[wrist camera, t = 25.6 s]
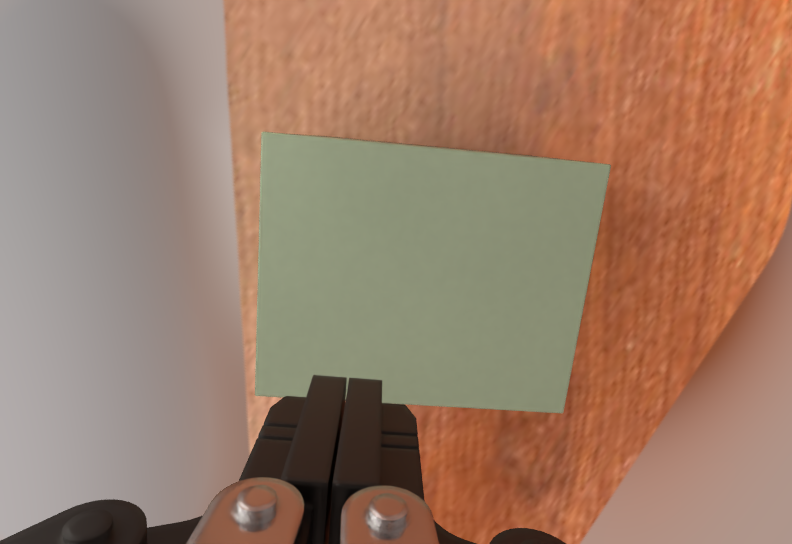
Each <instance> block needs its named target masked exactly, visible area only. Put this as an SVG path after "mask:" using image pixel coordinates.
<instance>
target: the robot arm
mask: <svg viewBox="0 0 792 544" xmlns="http://www.w3.org/2000/svg"><path fill="white" fill-rule="evenodd" d="M346 385H347V377H335V376H322V375H313V377H312V380H311V383H310V387H309V390H308V393H307V396H306V397H296V396H285V397H284V398H282V399H281V400H280V401H279V402H277V403H276V404H275V405H273V406H272V407H271V408H270V410H269V412H268V415H267V417H266V419H265V422H264V426H262V429H261V431H260V433H259V436H258V438H257V440H256V442H255V445H254V447H253V449H252V452H251V454H250V456H249V458H248V461H247V463H246V466H245V468H244V470H243V472H242V475H241V477H240V479H239V482H236V483H234V484H231V485H230V486H228V487H226V488H225V489H223V490H222V491H220V492H219V493H218V494H217V495H216V496H215V497H214V499H213V500H212V501H211V503H210V505H209V506H208V508H207V510H206V511H205V513H204V515H203V516H201V517H198V518H194V519H191V520H187V521H183V522H178V523H172V524H166V525H161V526H155V527H149V528H147V522H146V516H145V514H144V512H143V511H142V510H141V509H140V508H139V507H137V506H136V505H134V504H132V503H130V502H126V501H122V500H98V501H93V502H89V503H84V504H82V505H78V506H75V507H73V508H70V509H68V510H65V511H63V512H61V513H59V514H57V515H55V516H53V517H51V518H48V519H46V520H44V521H42V522H40V523H38V524H35V525H33V526H31V527H29V528H27V529H25V530H22V531H20V532H18V533H16V534H14V535H12V536H10V537H8V538H6V539H3V540H1V541H0V544H476V543H473V542H470V541H467V540H464V539H461V538H459V537H457V536H455V535H453V534H451V533H449V532H448V531H446V530H445V529H443V528H442V527H441V526H440V525H438V524H437V523H436V522H435V521H434V519H433V515H432V512H431V510H430V508H429V507H428V505H427V504H426V503H425V501H424V493H423V483H422V473H421V463H420V453H419V443H418V437H417V434H418V433H417V423H416V418H415V416H414V415H413V414H412V413H411V411H410V410H409V409H408V408H407V406H406V405H404V404H391V403H382V380H376V379H363V378H349V383H348V389H347V396H346ZM345 400H346V402H345ZM490 544H566V543H564V542H562V541H561V540H559V539H558V538H556V537H554V536H552V535H550V534H547V533H545V532H542V531H538V530H534V529H528V528H515V529H509V530H506V531H503V532H501V533H499V534H498V535H496V536H495V537H494V538H493V539H492V541H491V542H490Z"/></svg>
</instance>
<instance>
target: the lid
mask: <svg viewBox="0 0 792 544" xmlns="http://www.w3.org/2000/svg"><path fill="white" fill-rule="evenodd" d="M610 168H611V165H610V164H601V163H591V162H580V161H570V160H559V159H548V158H538V157H527V156H517V155H506V154H495V153H485V152H474V151H464V150H453V149H442V148H432V147H421V146H411V145H400V144H389V143H379V142H368V141H358V140H347V139H336V138H326V137H315V136H305V135H294V134H283V133H273V132H262V137H261V177H260V217H259V257H258V296H257V336H256V376H255V395H256V396H268V397H285V396H296V397H306V396H307V393H308V390H309V387H310V383H311V380H312V377H313V375H322V376H335V377H347V385H346V396H347V389H348V383H349V378H363V379H376V380H382V403H391V404H409V405H426V406H444V407H461V408H479V409H497V410H514V411H532V412H549V413H563V411H564V406H565V401H566V396H567V390H568V385H569V380H570V375H571V370H572V364H573V359H574V354H575V349H576V344H577V339H578V333H579V328H580V323H581V318H582V313H583V308H584V302H585V297H586V292H587V287H588V282H589V276H590V271H591V266H592V261H593V256H594V251H595V245H596V240H597V235H598V230H599V225H600V219H601V214H602V209H603V204H604V199H605V194H606V188H607V183H608V178H609V173H610ZM345 401H346V400H345Z"/></svg>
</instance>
